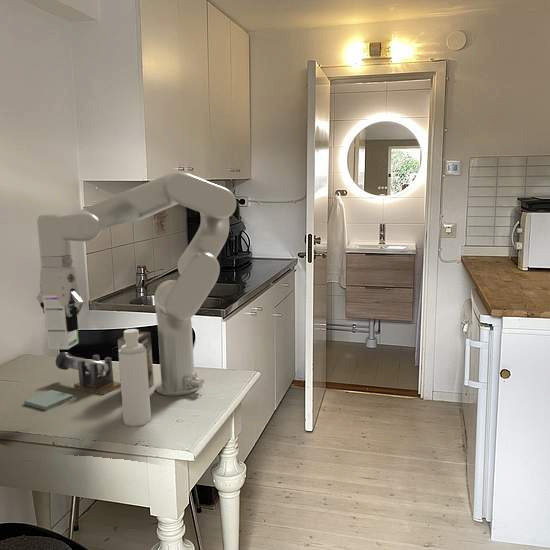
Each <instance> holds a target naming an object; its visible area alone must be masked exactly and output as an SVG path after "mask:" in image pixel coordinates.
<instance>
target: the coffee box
mask: <svg viewBox="0 0 550 550" xmlns="http://www.w3.org/2000/svg"><path fill="white" fill-rule="evenodd" d="M151 333H152V332H149V331H139V338H138V343H140V344H143V346H145V347H146V354H147V368H148V382H149V389H150V388H151V387H153V386H154V384H155V382H154V367H153V354H152V353H153V351H152V337H151V336H152V335H151ZM123 345H125V340H124V336H122V337H120V338H119V339H117V348H118V349H117V352H118V350H119V349H120V348H121V346H123ZM118 354H119V352H118ZM118 366H119V367H118V368H119V369H120V365H119V364H118ZM119 380H120V381H119V383H121V379H120V378H119ZM120 394H121V395H122V392H121V391H120Z"/></svg>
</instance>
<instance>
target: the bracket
mask: <svg viewBox="0 0 550 550" xmlns="http://www.w3.org/2000/svg"><path fill="white" fill-rule="evenodd" d="M92 360H93V361H98V362H101V358H100V355H99V354H93V355H92ZM112 361H113V359H112V357H110V356H107V357H105V358H104V363H107V364H108V367H109V369H108V372H107V373H106V374H105V375H99V374H98V371H97V363H90V372H86V370H85V361H83V360H80V361H78V370H77V371H78V382H76V383H74V384H73V387H75V388H74V389H78V388H80V389H79V390H82V389H84V390H83V391H86V390H88V391H87V392H90V391H93V392H92V393H94V392H98V393H102V394H101V395H103V394H104V393H106V394H108V393H110V392H109V391H111V392H112V390H113V391H115V390H117V389H119V388H121V382H120V381H114V372H113V362H112ZM116 388H117V389H116ZM114 389H115V390H114ZM107 392H108V393H107ZM98 393H97V394H98ZM104 395H105V394H104Z"/></svg>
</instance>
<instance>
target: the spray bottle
mask: <svg viewBox="0 0 550 550" xmlns="http://www.w3.org/2000/svg"><path fill="white" fill-rule="evenodd" d="M139 332H140V331H139V329H137V328H130V329H129V328H127V329H125V330H124V331H123V337H124V340H125V345H123V346H121V348H120V349H119V350H118V349H117V352H119V353H118V366H119V365H120V368H119V380H120V379H121V382H120V383H121V387H120V393H121V392H122V394H121V401H122V404H121V405H122V415H123V423H124V424H125V425H126V426H130V427H138V426H142V425H145V424H148V423H149V422H150V421H151V420H152V415H151V401H150V388H149V382H148V368H147V354H146V347H145V346H143V344H140V343H138V338H139Z"/></svg>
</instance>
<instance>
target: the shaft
mask: <svg viewBox="0 0 550 550" xmlns="http://www.w3.org/2000/svg"><path fill="white" fill-rule="evenodd" d="M80 360H83V361H85V370H86V373H89V372H90V363H97V371H98V374H99V375H105V374H106V373H107V372H108V369H109V367H108V364H107V363H105V362H102V361H100V362H98V361H93V359H89V358H88V359H87V358H84V357H77V356H74V355H73V354H72V353H70V352H67V351H62V352H60V353H59V354H57V356H56V358H55V365H56V367H57V369H59V370H63V371H64V370H65V371H66V370H69V369H72V370H76V371H78V361H80Z"/></svg>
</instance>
